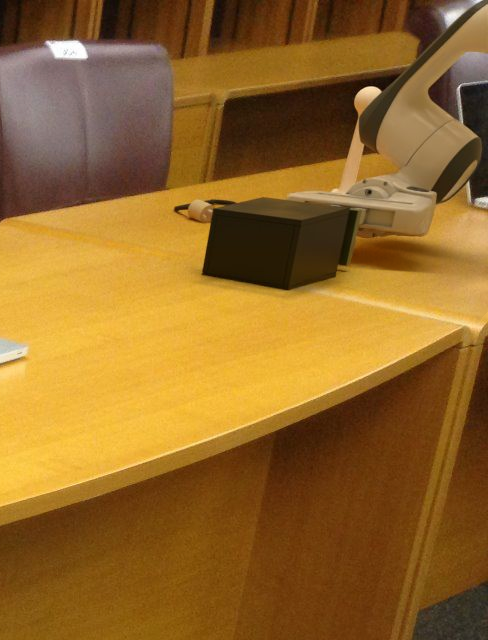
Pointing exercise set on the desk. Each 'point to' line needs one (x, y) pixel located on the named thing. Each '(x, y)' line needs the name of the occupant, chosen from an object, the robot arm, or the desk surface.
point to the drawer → (350, 236)
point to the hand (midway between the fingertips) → (333, 217)
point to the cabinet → (275, 242)
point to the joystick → (356, 141)
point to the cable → (202, 208)
